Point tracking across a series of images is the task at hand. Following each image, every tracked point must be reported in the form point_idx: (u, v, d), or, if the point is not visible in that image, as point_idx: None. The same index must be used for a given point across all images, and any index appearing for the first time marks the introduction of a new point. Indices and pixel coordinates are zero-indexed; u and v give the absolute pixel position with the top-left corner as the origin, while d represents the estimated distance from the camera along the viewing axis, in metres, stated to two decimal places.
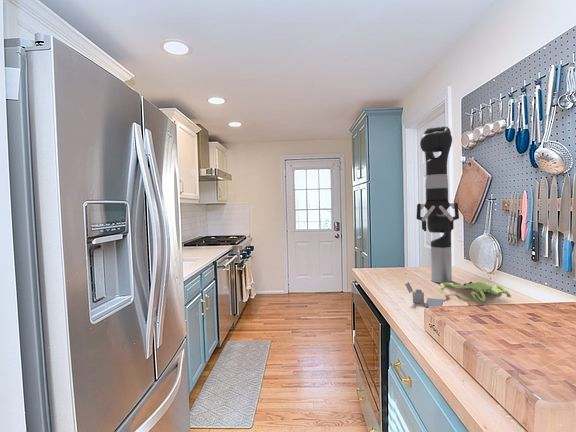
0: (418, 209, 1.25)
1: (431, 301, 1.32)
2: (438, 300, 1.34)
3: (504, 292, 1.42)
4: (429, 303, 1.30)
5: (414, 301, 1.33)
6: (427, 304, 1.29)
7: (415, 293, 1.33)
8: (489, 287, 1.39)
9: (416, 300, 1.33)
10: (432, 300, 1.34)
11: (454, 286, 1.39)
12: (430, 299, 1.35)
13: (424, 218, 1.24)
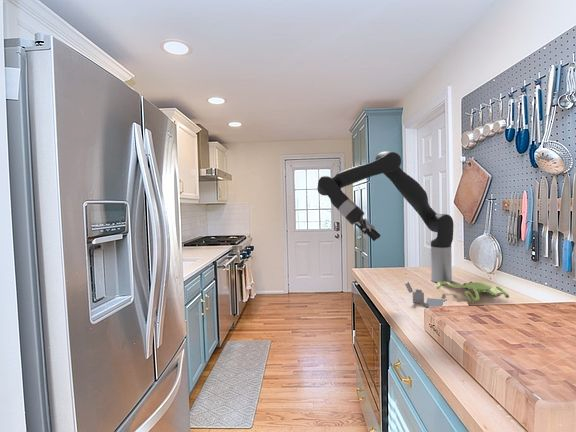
0: None
1: (431, 301, 1.32)
2: (438, 300, 1.34)
3: None
4: (429, 303, 1.30)
5: (414, 301, 1.33)
6: (427, 304, 1.29)
7: (415, 293, 1.33)
8: (487, 287, 1.39)
9: (416, 300, 1.33)
10: (432, 300, 1.34)
11: (450, 285, 1.41)
12: (430, 299, 1.35)
13: None
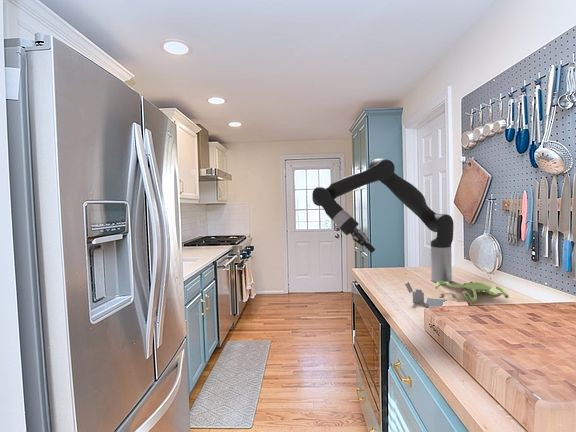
0: None
1: (431, 301, 1.32)
2: (438, 300, 1.34)
3: None
4: (429, 303, 1.30)
5: (414, 301, 1.33)
6: (427, 304, 1.29)
7: (415, 293, 1.33)
8: (486, 287, 1.39)
9: (416, 300, 1.33)
10: (432, 300, 1.34)
11: (448, 285, 1.41)
12: (430, 299, 1.35)
13: None
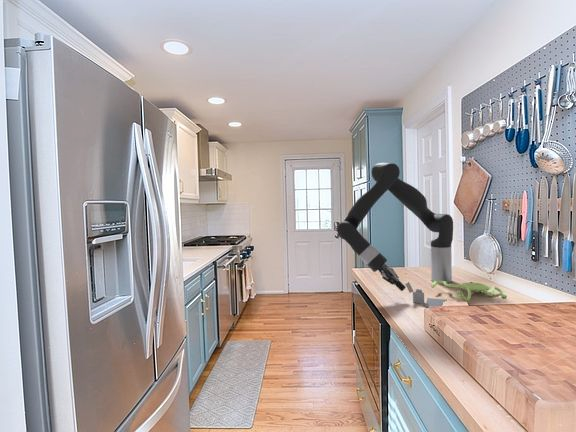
0: None
1: (431, 301, 1.32)
2: (438, 300, 1.34)
3: None
4: (429, 303, 1.30)
5: (414, 301, 1.33)
6: (427, 304, 1.29)
7: (415, 293, 1.33)
8: (483, 288, 1.39)
9: (417, 300, 1.33)
10: (432, 300, 1.34)
11: (445, 284, 1.42)
12: (430, 299, 1.35)
13: None
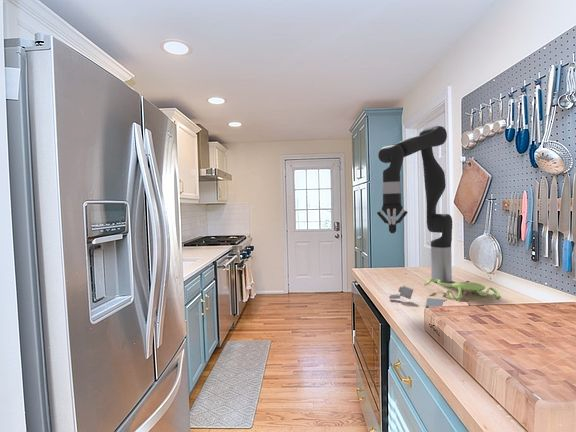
0: (380, 215, 1.44)
1: (431, 301, 1.32)
2: (438, 300, 1.34)
3: (496, 295, 1.38)
4: (429, 303, 1.30)
5: (409, 297, 1.34)
6: (427, 304, 1.29)
7: (401, 293, 1.35)
8: (476, 288, 1.38)
9: (408, 294, 1.34)
10: (432, 300, 1.34)
11: (438, 283, 1.44)
12: (430, 299, 1.35)
13: (390, 222, 1.42)
